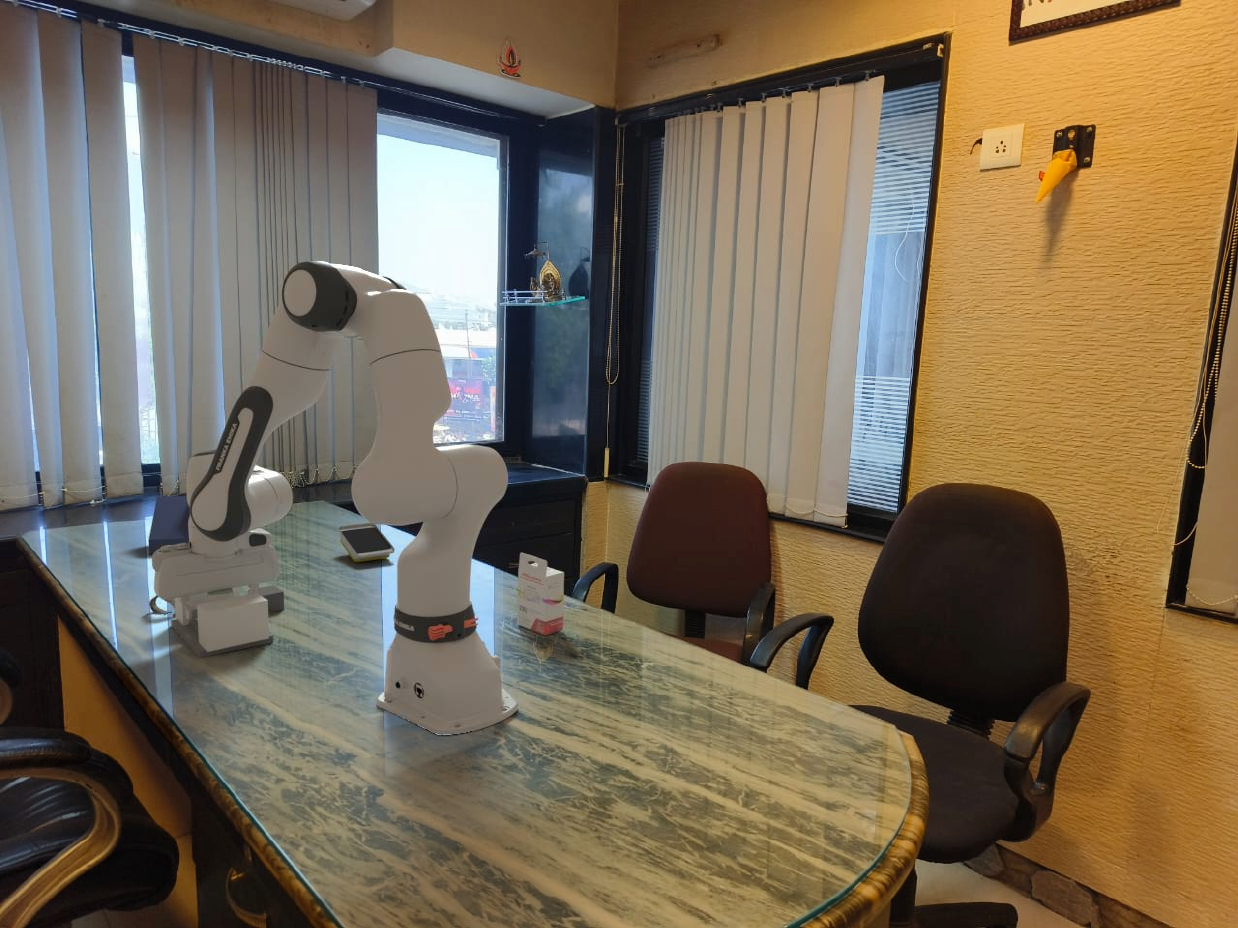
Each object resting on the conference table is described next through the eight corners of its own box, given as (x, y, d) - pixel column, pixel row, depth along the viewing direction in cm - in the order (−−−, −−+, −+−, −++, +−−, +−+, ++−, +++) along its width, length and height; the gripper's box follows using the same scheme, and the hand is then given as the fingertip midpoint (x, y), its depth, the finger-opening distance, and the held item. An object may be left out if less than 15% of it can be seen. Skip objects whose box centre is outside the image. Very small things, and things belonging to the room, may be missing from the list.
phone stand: (149, 555, 189) (146, 507, 187) (159, 542, 200) (157, 496, 198) (205, 553, 193) (202, 505, 191) (212, 540, 204) (210, 495, 203)
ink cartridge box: (564, 630, 153) (566, 556, 151) (545, 636, 150) (547, 561, 147) (535, 618, 159) (536, 547, 156) (515, 624, 155) (517, 551, 153)
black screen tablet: (336, 541, 199) (357, 571, 189) (337, 526, 198) (358, 555, 187) (372, 537, 205) (394, 565, 195) (373, 522, 204) (396, 550, 193)
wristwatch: (173, 619, 150) (172, 594, 150) (145, 616, 152) (144, 591, 151) (187, 613, 154) (185, 589, 153) (159, 610, 155) (158, 585, 154)
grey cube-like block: (284, 610, 158) (283, 591, 157) (258, 616, 154) (257, 596, 154) (274, 604, 161) (273, 585, 160) (248, 609, 158) (248, 590, 157)
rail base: (275, 644, 141) (273, 599, 139) (201, 661, 132) (199, 613, 131) (238, 612, 155) (236, 571, 154) (170, 626, 147) (167, 582, 146)
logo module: (235, 630, 142) (233, 591, 140) (210, 634, 140) (208, 594, 138) (231, 617, 148) (229, 580, 146) (207, 621, 145) (205, 583, 144)
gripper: (155, 551, 131) (160, 630, 134) (281, 534, 145) (283, 606, 147) (146, 543, 136) (151, 619, 138) (269, 527, 150) (271, 596, 152)
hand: (220, 612), depth 143 cm, fingers open, 8 cm apart
